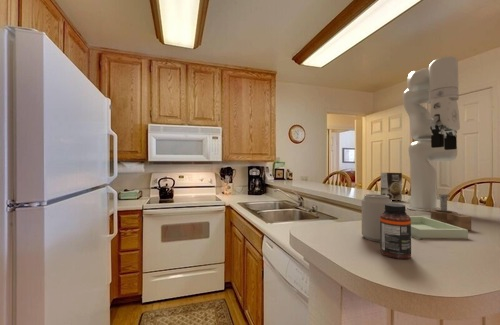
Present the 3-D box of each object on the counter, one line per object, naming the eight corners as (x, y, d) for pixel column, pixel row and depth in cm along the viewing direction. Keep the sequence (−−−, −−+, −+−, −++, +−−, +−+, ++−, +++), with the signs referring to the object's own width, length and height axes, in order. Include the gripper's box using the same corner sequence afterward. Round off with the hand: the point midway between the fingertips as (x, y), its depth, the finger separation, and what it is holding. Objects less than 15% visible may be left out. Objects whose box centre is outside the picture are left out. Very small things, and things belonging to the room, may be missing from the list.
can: (397, 243, 61) (396, 197, 61) (365, 241, 63) (365, 196, 63) (386, 235, 69) (386, 193, 69) (358, 233, 70) (358, 192, 70)
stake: (419, 220, 87) (419, 192, 87) (444, 221, 87) (444, 192, 87) (443, 228, 76) (443, 196, 76) (472, 229, 76) (471, 196, 76)
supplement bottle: (388, 248, 58) (388, 201, 58) (416, 256, 53) (416, 205, 53) (374, 253, 55) (374, 203, 55) (403, 262, 50) (402, 207, 50)
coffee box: (388, 201, 134) (388, 172, 134) (380, 199, 140) (380, 172, 141) (402, 201, 136) (402, 172, 136) (393, 199, 142) (393, 172, 142)
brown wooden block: (425, 220, 85) (425, 209, 85) (445, 220, 85) (445, 209, 85) (454, 229, 73) (454, 216, 73) (477, 230, 73) (477, 217, 73)
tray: (384, 224, 82) (384, 216, 82) (423, 224, 81) (423, 216, 81) (419, 239, 64) (419, 229, 65) (468, 240, 64) (468, 229, 64)
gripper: (446, 87, 71) (447, 145, 70) (468, 98, 80) (469, 149, 79) (417, 94, 77) (418, 147, 76) (441, 103, 86) (441, 151, 85)
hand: (444, 148), depth 78 cm, fingers open, 9 cm apart
